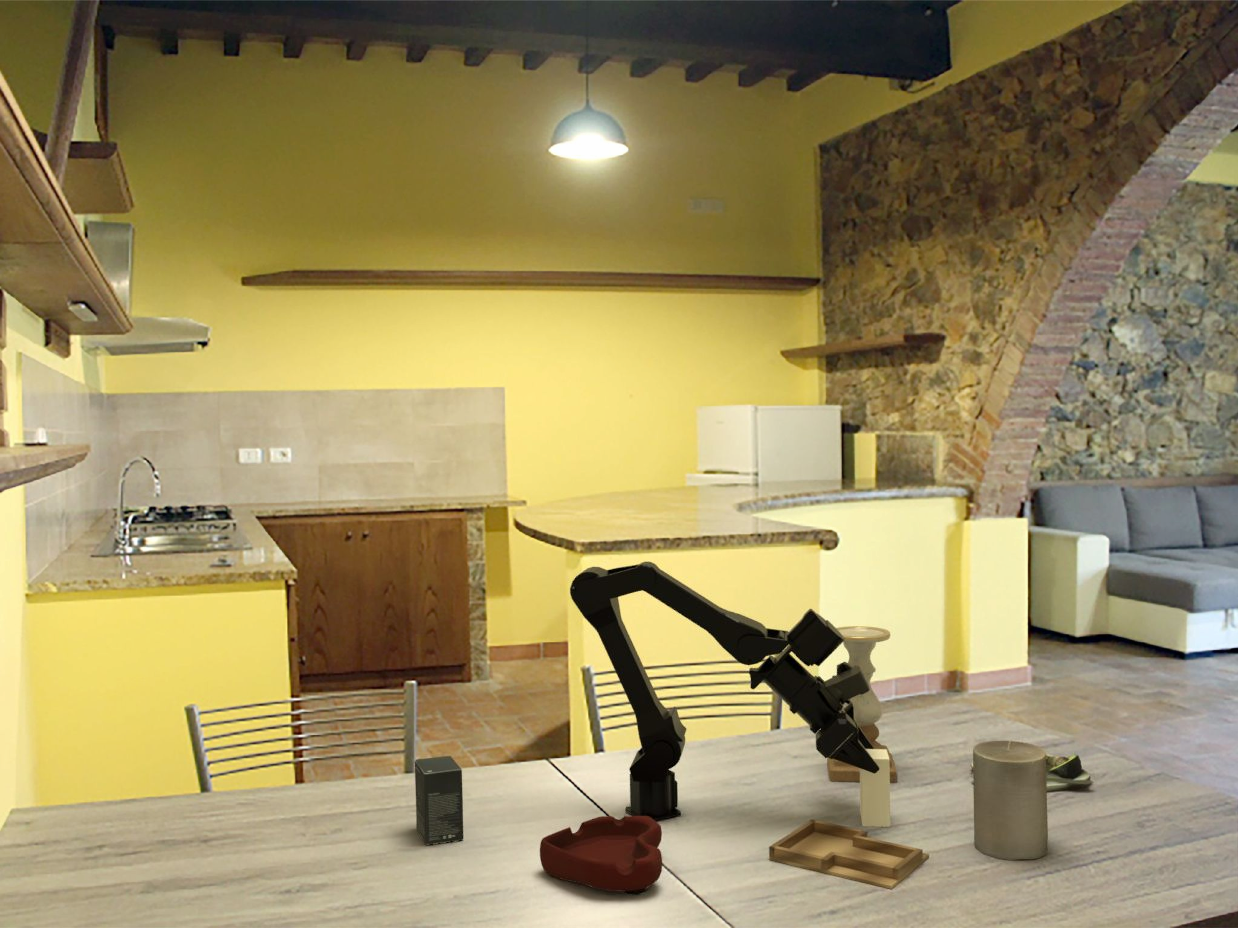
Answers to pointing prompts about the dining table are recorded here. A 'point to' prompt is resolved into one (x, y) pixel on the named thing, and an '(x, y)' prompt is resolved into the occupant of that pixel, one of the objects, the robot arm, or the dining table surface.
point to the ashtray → (606, 854)
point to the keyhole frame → (847, 854)
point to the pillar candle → (1010, 800)
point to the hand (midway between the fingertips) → (875, 761)
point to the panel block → (876, 791)
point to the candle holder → (862, 698)
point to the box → (439, 800)
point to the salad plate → (1063, 773)
